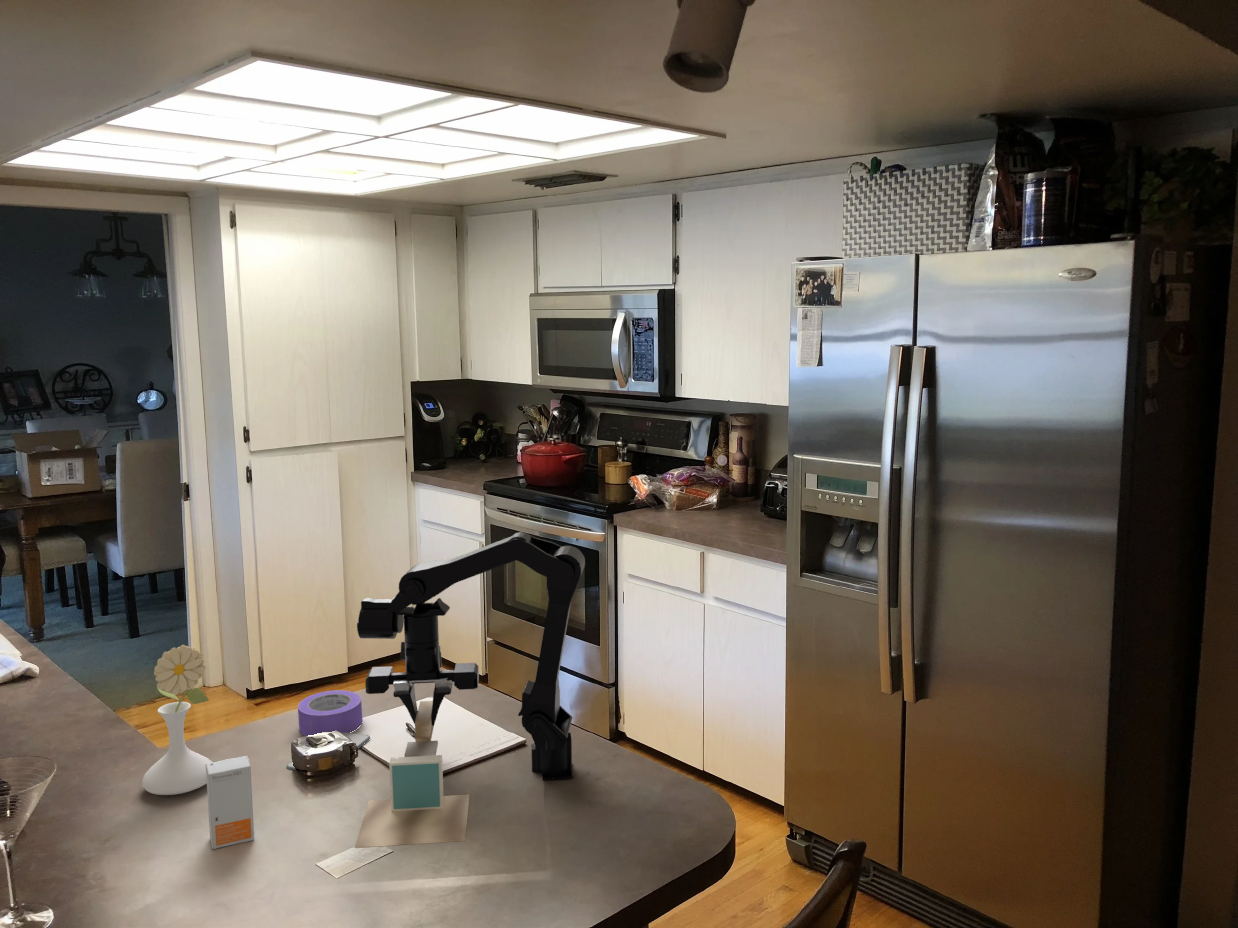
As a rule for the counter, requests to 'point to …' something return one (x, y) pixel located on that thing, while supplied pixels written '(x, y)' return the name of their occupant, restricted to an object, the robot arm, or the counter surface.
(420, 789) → the tile
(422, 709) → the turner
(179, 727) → the flower in vase
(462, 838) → the tan flat board
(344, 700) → the tape roll
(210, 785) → the skincare box
